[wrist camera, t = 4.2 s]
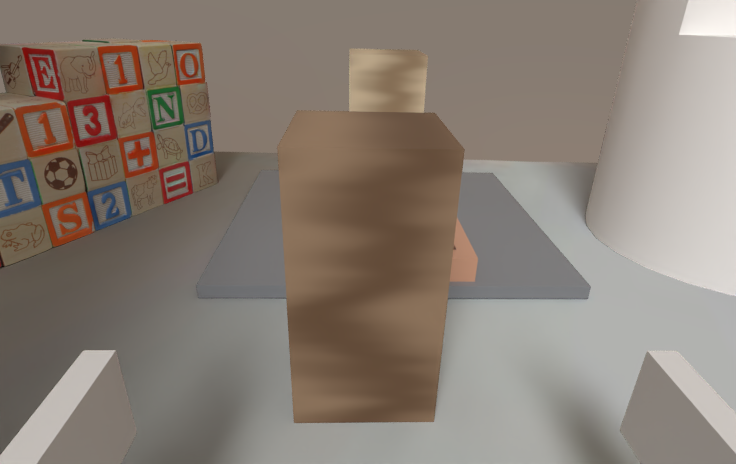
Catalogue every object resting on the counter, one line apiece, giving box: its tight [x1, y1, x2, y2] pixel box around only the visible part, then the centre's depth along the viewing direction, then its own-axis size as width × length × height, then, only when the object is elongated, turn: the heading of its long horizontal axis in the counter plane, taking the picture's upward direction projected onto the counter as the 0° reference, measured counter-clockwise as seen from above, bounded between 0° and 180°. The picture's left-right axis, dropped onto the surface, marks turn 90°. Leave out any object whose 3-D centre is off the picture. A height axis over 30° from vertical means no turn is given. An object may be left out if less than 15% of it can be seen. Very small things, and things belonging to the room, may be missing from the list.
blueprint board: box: [196, 170, 591, 299], centre depth 35 cm, size 22×20×2 cm
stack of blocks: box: [0, 39, 218, 267], centre depth 33 cm, size 21×6×12 cm, turn 153°
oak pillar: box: [349, 49, 428, 113], centre depth 38 cm, size 6×6×11 cm
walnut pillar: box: [277, 111, 464, 423], centre depth 19 cm, size 6×6×11 cm
